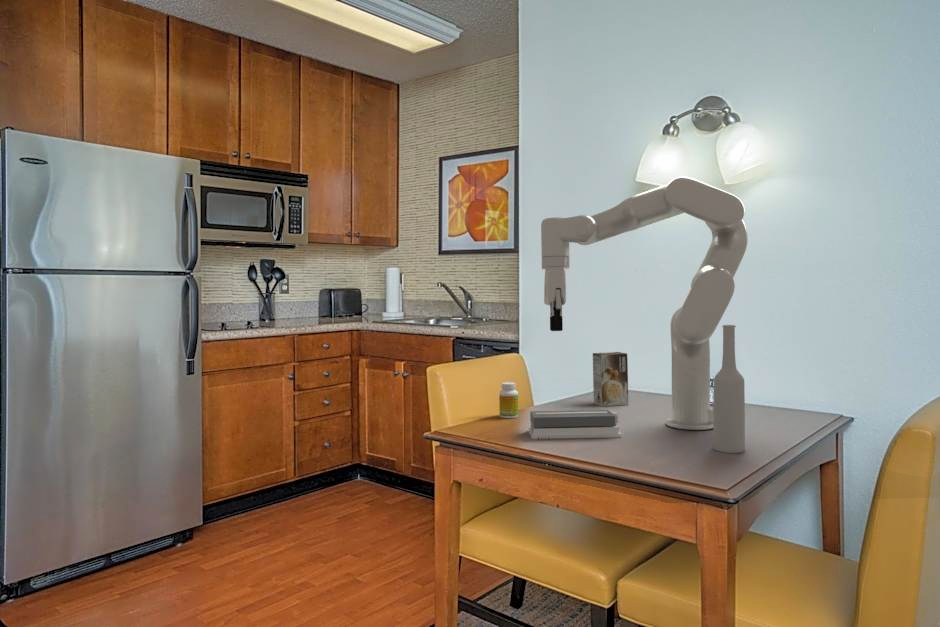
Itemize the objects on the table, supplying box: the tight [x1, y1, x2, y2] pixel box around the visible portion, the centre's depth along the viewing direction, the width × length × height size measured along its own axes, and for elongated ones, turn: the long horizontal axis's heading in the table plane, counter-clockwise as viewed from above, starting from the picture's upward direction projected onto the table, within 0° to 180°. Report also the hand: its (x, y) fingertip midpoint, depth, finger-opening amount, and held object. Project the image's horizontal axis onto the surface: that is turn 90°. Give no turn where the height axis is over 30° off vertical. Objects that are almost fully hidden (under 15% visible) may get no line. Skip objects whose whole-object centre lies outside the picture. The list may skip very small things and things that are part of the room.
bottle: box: [712, 324, 746, 454], centre depth 146 cm, size 7×7×28 cm
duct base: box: [527, 421, 623, 440], centre depth 164 cm, size 22×9×2 cm, turn 90°
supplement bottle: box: [498, 381, 519, 419], centre depth 187 cm, size 5×5×10 cm
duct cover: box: [529, 409, 619, 427], centre depth 164 cm, size 22×8×3 cm, turn 91°
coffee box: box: [592, 351, 629, 407], centre depth 203 cm, size 9×6×16 cm
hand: (556, 330), depth 178 cm, fingers closed
